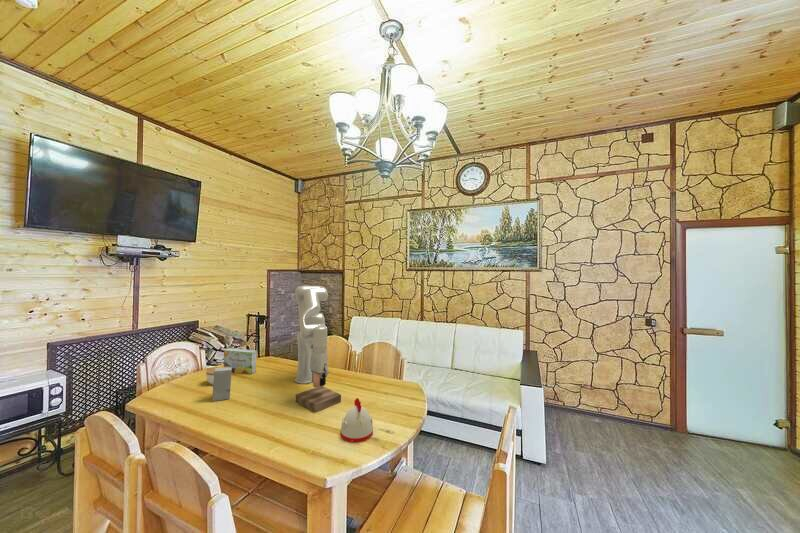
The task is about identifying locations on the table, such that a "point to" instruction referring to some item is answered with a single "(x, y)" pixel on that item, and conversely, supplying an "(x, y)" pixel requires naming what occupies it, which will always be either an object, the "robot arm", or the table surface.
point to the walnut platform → (318, 398)
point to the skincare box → (221, 383)
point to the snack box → (240, 360)
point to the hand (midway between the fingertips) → (318, 383)
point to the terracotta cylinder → (316, 379)
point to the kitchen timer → (357, 424)
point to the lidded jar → (210, 375)
